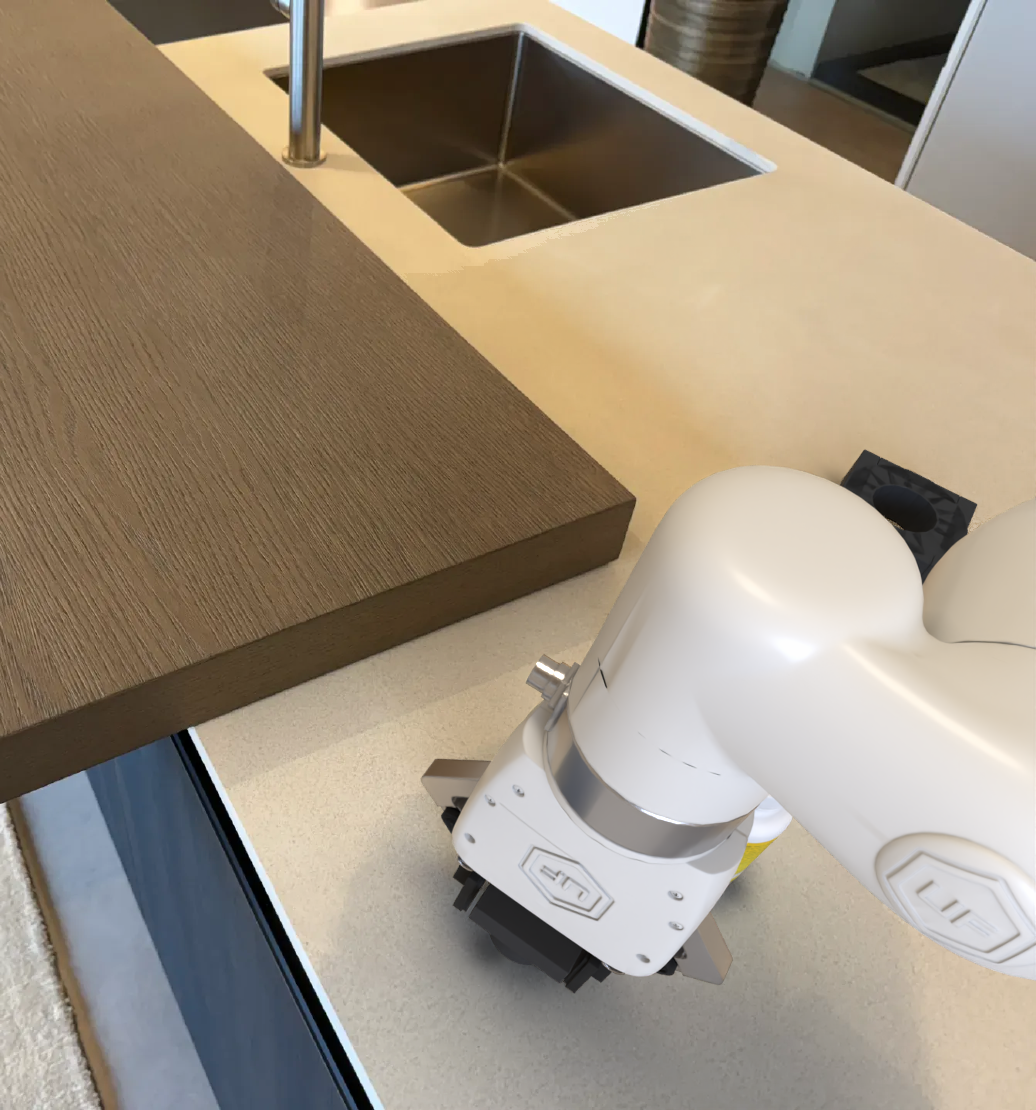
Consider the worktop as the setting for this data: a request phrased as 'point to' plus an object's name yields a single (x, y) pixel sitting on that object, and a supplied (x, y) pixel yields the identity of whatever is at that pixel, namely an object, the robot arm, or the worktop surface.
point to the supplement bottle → (763, 831)
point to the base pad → (912, 507)
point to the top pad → (524, 934)
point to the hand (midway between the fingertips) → (526, 923)
